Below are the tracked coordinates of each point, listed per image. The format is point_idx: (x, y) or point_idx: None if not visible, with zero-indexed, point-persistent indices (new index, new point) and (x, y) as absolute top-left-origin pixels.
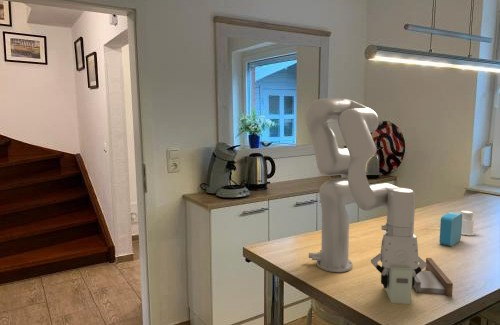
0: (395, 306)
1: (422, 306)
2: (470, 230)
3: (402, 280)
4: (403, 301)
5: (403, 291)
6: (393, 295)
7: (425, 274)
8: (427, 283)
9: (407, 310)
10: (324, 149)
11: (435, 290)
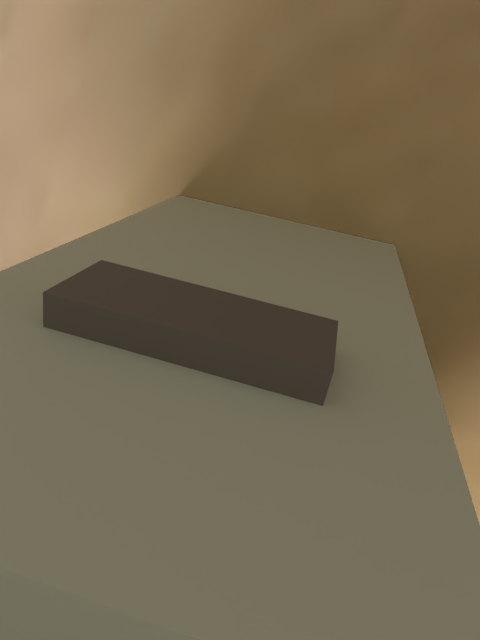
0: (391, 146)
1: (79, 123)
2: None
3: (194, 311)
4: (252, 219)
5: (226, 250)
6: (374, 265)
7: None
8: None
9: (287, 28)
10: None
11: None
